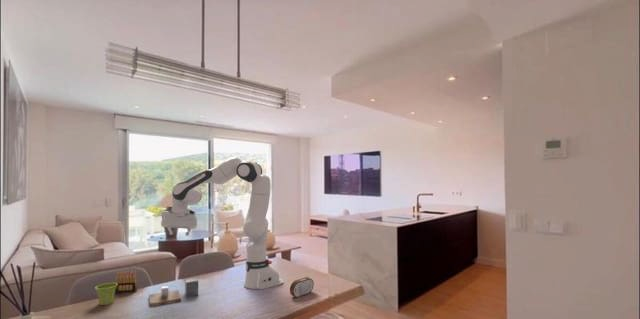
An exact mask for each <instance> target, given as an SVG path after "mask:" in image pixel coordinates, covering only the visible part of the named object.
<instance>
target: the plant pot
mask: <svg viewBox="0 0 640 319" xmlns="http://www.w3.org/2000/svg"><path fill="white" fill-rule="evenodd" d="M117 285H118V284H117V283H116V282H109V283H103V284H99V285H96V286H95V287H94V288H95V291H96V293H97V300H98V305H99V306H108V305H110V304H111V305H112V303H114V301H115V296H116V293H115V290H116V287H117Z"/></svg>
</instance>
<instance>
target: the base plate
mask: <svg viewBox="0 0 640 319" xmlns="http://www.w3.org/2000/svg"><path fill="white" fill-rule="evenodd" d="M148 299H149V308H151V307H157V306H161V305H167V304H168V305H169V304H173V303H178V302H182V296H181V294H180V292H179V289H176V290H170V291H169V290H168V297H164V298H162V297H161V292H158V293H157V292H156V293H151V294H148Z"/></svg>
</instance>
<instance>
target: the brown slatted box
mask: <svg viewBox="0 0 640 319" xmlns="http://www.w3.org/2000/svg"><path fill="white" fill-rule="evenodd" d="M115 274H116V276H115V283H117V284H118V285H117V287H116V290H115V294H119V293H120V294H122V293H136V292H137V291H138V286H137V285H138V284H137V271H136V269H134V270H132V269H130V271H129V269H127V271H126V270H125V269H124V270H123V271H122V270H121V269H120V272H119V270H117V271H116V273H115ZM135 291H136V292H135Z"/></svg>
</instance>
